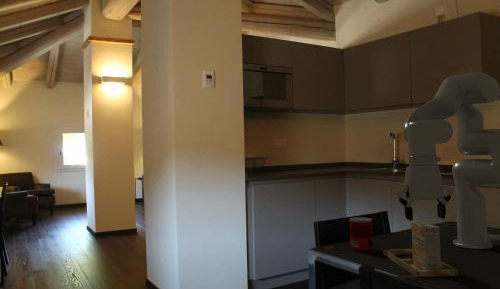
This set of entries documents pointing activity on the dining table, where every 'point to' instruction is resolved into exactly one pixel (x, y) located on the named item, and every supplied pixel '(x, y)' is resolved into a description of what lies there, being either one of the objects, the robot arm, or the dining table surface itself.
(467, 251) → the dining table surface
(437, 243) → the supplement box
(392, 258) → the wooden divided tray
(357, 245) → the canned food
